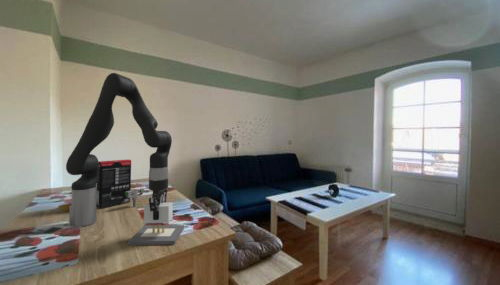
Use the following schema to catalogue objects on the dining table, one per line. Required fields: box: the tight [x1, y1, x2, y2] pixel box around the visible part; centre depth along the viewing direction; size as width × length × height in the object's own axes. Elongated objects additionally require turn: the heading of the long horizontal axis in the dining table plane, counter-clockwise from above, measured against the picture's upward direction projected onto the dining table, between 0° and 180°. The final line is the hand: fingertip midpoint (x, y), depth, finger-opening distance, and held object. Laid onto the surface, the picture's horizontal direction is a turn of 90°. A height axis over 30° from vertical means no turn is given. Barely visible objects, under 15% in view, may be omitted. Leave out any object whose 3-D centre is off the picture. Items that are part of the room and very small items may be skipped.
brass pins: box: [152, 224, 166, 233], centre depth 87 cm, size 5×1×3 cm, turn 93°
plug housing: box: [143, 202, 174, 224], centre depth 87 cm, size 10×5×7 cm, turn 93°
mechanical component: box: [125, 188, 144, 208], centre depth 121 cm, size 3×10×10 cm, turn 148°
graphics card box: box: [96, 159, 132, 209], centre depth 124 cm, size 17×7×27 cm, turn 144°
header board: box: [127, 224, 185, 246], centre depth 87 cm, size 18×14×2 cm
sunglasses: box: [57, 202, 72, 213], centre depth 118 cm, size 14×15×5 cm
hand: (158, 216), depth 87 cm, fingers closed on plug housing, 5 cm apart
